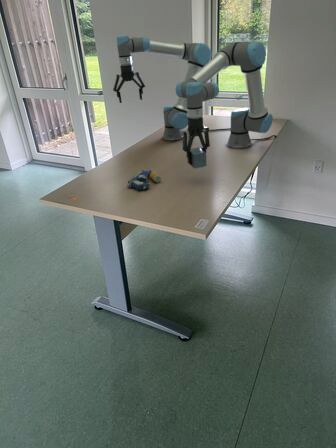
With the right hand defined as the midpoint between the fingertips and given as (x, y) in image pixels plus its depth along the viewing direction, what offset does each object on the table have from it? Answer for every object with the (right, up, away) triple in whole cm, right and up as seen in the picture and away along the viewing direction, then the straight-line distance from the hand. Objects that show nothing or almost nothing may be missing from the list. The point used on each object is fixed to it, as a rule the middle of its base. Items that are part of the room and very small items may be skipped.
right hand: (196, 162), depth 173 cm
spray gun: (-27, -10, +10) cm, 30 cm away
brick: (0, -1, +1) cm, 1 cm away
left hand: (-39, +47, +41) cm, 73 cm away
